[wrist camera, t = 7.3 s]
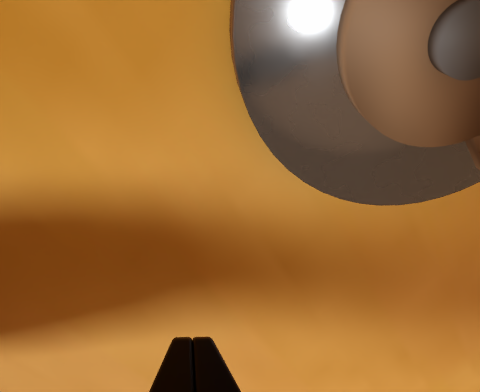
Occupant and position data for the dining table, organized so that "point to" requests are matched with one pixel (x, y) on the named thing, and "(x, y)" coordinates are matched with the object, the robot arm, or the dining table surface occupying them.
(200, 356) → the robot arm
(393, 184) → the post base
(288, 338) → the dining table surface
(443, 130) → the crank handle
